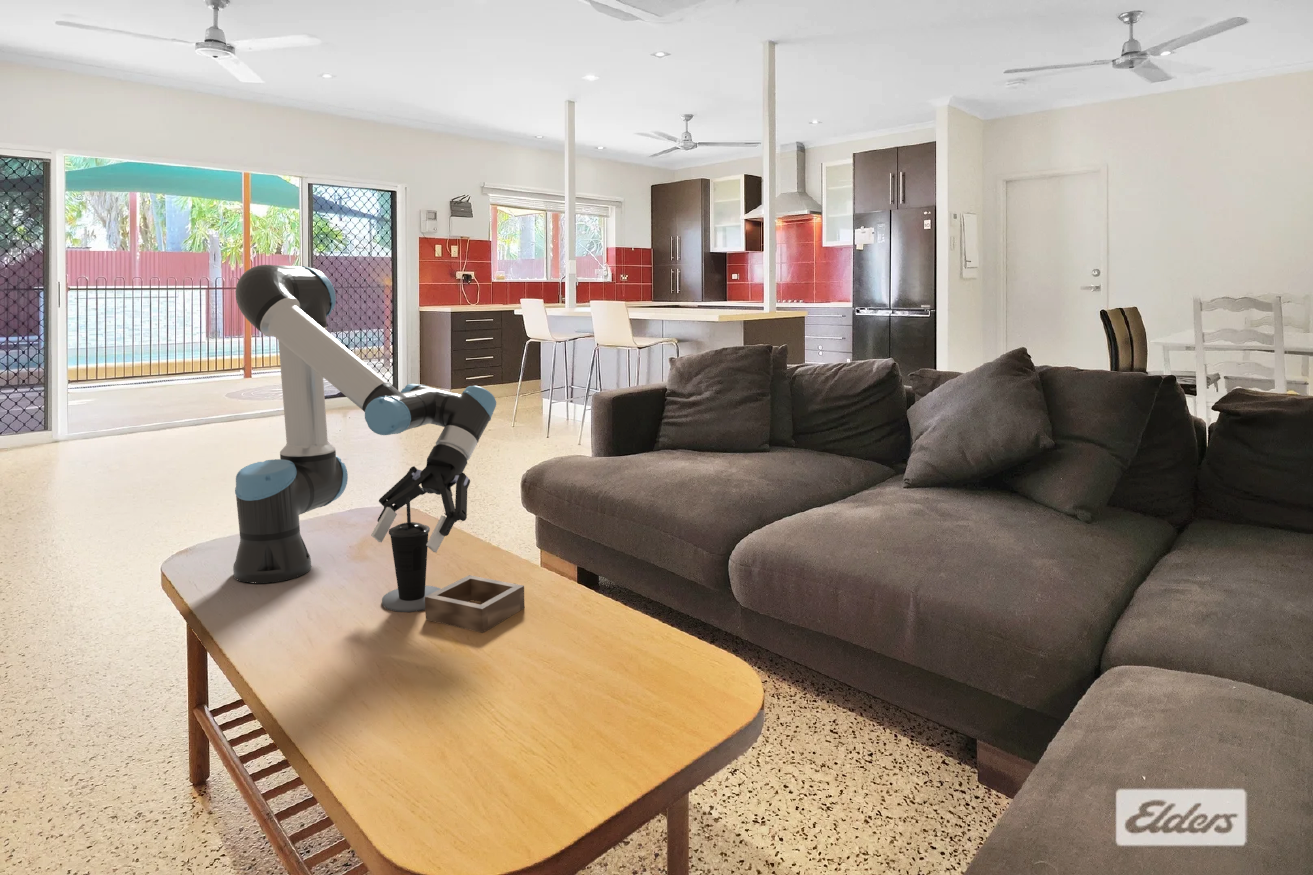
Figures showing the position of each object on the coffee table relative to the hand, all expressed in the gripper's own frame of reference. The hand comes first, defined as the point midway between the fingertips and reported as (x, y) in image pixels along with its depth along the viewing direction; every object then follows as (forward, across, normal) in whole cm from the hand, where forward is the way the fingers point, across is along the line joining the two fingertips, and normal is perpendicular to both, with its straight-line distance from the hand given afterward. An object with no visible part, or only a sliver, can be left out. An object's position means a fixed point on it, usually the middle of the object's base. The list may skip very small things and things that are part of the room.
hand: (403, 544), depth 158 cm
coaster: (+7, 0, -10) cm, 12 cm away
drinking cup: (+7, 0, -10) cm, 12 cm away
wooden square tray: (+7, -15, -10) cm, 19 cm away
